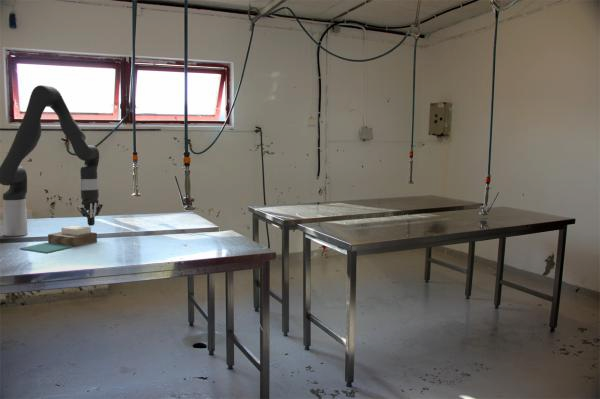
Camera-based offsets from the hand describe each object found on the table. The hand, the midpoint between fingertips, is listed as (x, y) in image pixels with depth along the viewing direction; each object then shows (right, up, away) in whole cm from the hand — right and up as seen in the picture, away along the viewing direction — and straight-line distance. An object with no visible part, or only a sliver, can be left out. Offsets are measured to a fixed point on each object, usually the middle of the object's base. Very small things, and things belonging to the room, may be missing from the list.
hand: (91, 225), depth 215 cm
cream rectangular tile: (-3, -3, -8) cm, 9 cm away
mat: (-9, -8, -22) cm, 25 cm away
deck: (-4, -7, -10) cm, 13 cm away
